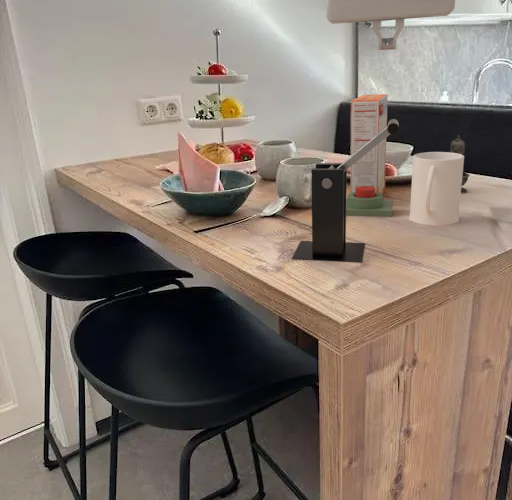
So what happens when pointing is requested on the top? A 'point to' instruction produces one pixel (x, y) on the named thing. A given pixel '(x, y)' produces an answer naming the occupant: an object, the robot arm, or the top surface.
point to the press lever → (370, 145)
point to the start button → (365, 192)
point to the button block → (368, 206)
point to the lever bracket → (329, 219)
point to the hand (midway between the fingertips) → (387, 49)
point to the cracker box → (362, 131)
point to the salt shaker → (459, 148)
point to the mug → (436, 188)
